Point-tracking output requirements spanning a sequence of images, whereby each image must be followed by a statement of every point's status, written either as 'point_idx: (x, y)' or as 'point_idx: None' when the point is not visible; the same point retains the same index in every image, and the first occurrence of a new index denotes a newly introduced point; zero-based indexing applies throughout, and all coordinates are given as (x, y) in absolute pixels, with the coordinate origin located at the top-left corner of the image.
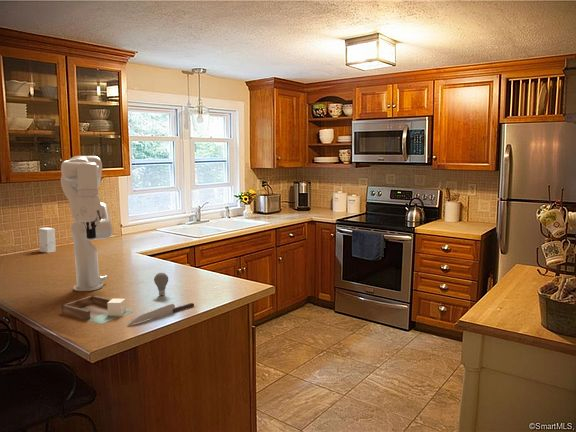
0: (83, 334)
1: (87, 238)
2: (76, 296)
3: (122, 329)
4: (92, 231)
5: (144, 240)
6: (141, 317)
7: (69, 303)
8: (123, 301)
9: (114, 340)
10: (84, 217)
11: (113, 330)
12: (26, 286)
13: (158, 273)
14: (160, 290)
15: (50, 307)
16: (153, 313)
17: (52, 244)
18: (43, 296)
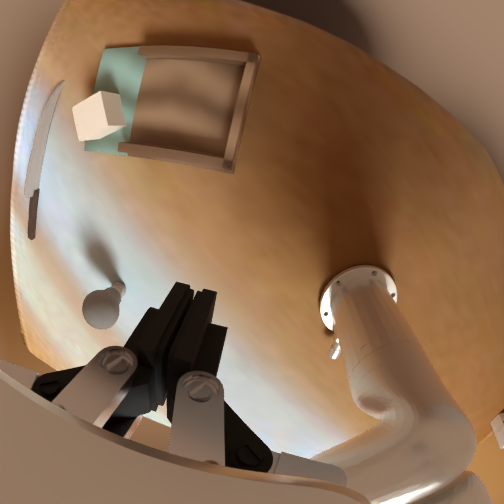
0: (118, 9)
1: (215, 294)
2: (344, 223)
3: (64, 66)
4: (132, 345)
5: None
6: (45, 114)
7: (245, 74)
8: (78, 127)
9: (56, 29)
10: (54, 497)
11: (76, 53)
12: (497, 266)
13: (95, 318)
14: (110, 287)
15: (349, 113)
16: (37, 143)
17: (496, 428)
18: (433, 202)
